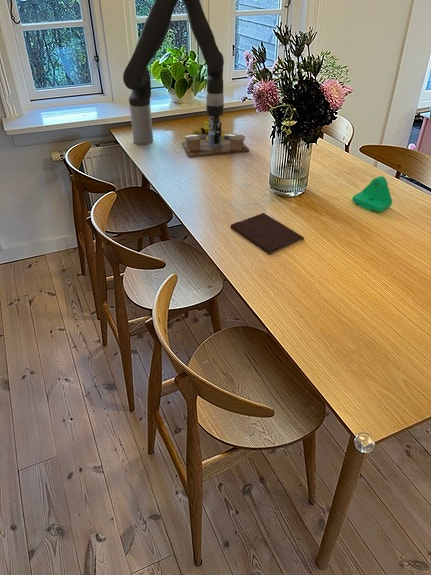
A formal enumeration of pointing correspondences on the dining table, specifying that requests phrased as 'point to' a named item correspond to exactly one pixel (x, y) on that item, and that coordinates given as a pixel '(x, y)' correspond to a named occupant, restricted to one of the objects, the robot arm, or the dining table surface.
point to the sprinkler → (204, 129)
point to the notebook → (266, 233)
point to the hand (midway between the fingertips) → (214, 141)
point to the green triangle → (374, 195)
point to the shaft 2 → (228, 136)
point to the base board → (203, 149)
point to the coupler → (211, 140)
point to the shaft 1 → (202, 137)
